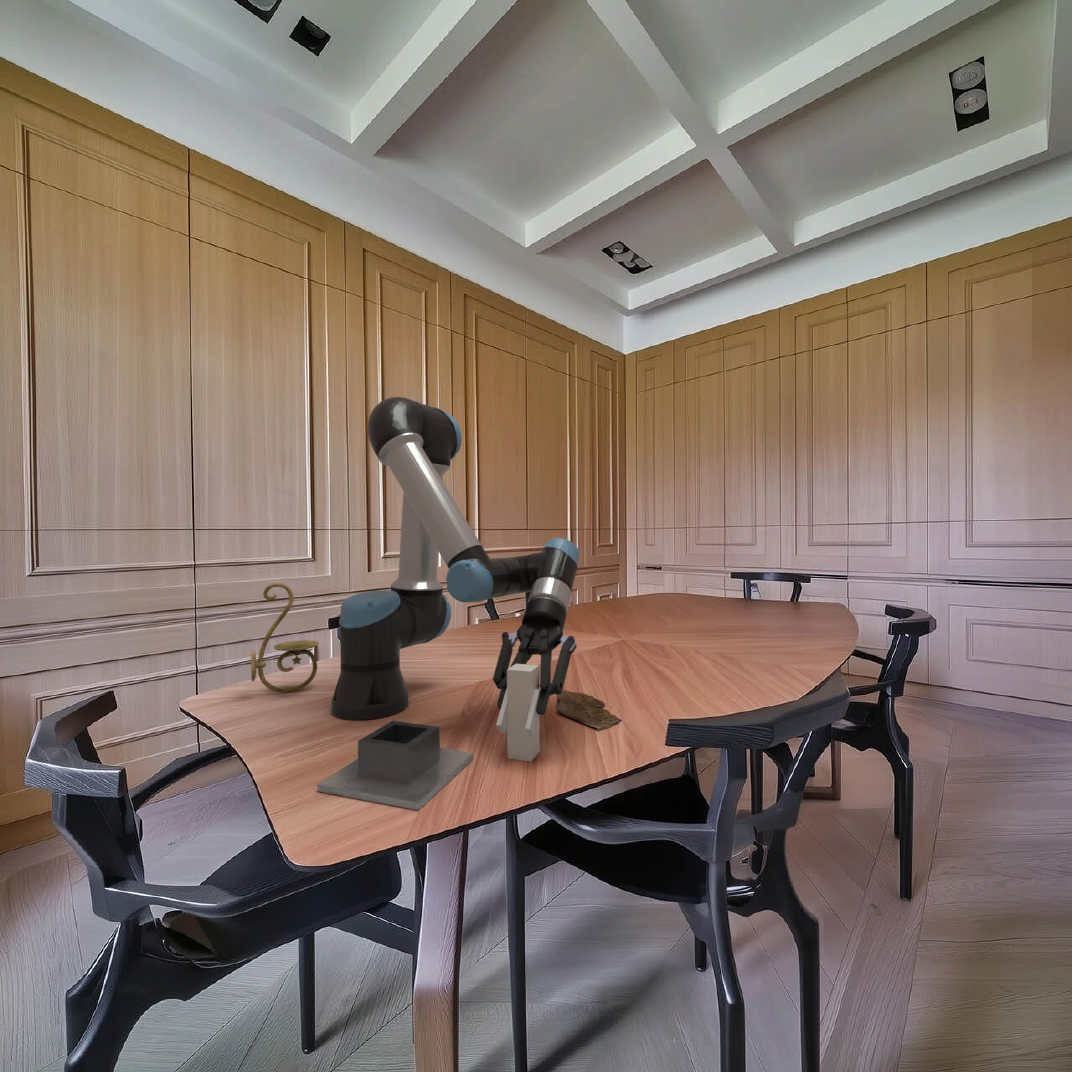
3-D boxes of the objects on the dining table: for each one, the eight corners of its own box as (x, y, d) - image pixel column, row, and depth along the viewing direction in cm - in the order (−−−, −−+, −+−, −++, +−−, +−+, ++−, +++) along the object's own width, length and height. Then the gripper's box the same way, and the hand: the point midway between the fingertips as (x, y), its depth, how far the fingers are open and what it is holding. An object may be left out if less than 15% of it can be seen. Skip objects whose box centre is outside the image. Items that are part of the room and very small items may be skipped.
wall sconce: (251, 703, 110) (250, 585, 110) (251, 691, 118) (250, 582, 118) (321, 693, 117) (321, 582, 117) (317, 682, 125) (316, 579, 125)
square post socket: (317, 791, 71) (317, 747, 71) (386, 746, 86) (386, 710, 86) (418, 810, 66) (418, 763, 66) (473, 759, 81) (473, 721, 81)
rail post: (507, 758, 82) (506, 669, 82) (516, 748, 85) (516, 663, 85) (531, 761, 80) (530, 671, 80) (539, 751, 84) (539, 665, 84)
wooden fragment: (629, 729, 94) (629, 723, 94) (571, 735, 92) (571, 729, 92) (587, 689, 119) (587, 685, 119) (540, 693, 117) (540, 688, 117)
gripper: (595, 622, 95) (573, 748, 79) (509, 618, 100) (472, 735, 84) (589, 597, 90) (563, 725, 74) (498, 594, 95) (456, 713, 79)
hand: (515, 730), depth 79 cm, fingers closed on rail post, 4 cm apart
